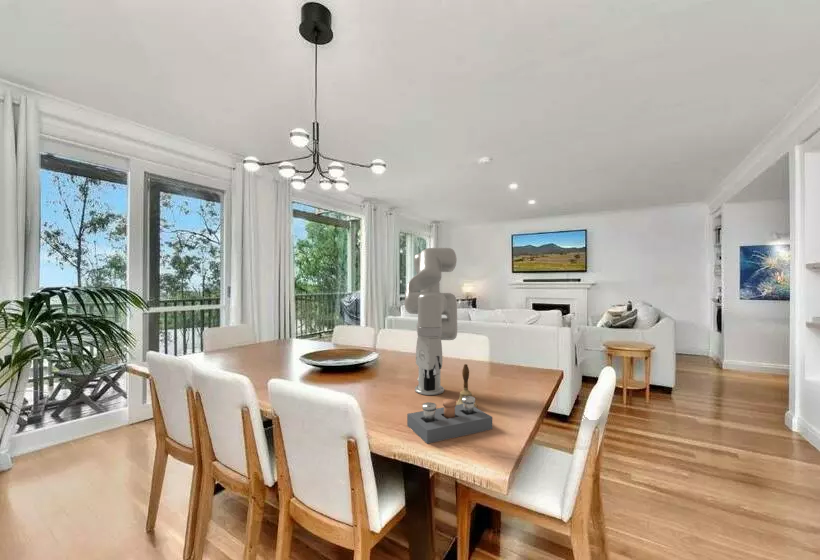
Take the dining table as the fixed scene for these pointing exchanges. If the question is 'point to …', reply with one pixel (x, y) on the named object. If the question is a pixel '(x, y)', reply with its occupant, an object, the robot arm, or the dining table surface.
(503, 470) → the dining table surface
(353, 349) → the dining table surface
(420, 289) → the robot arm
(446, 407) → the peach grooved knob
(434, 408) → the ball
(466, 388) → the hand bell
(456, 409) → the panel
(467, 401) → the silver rounded piece
